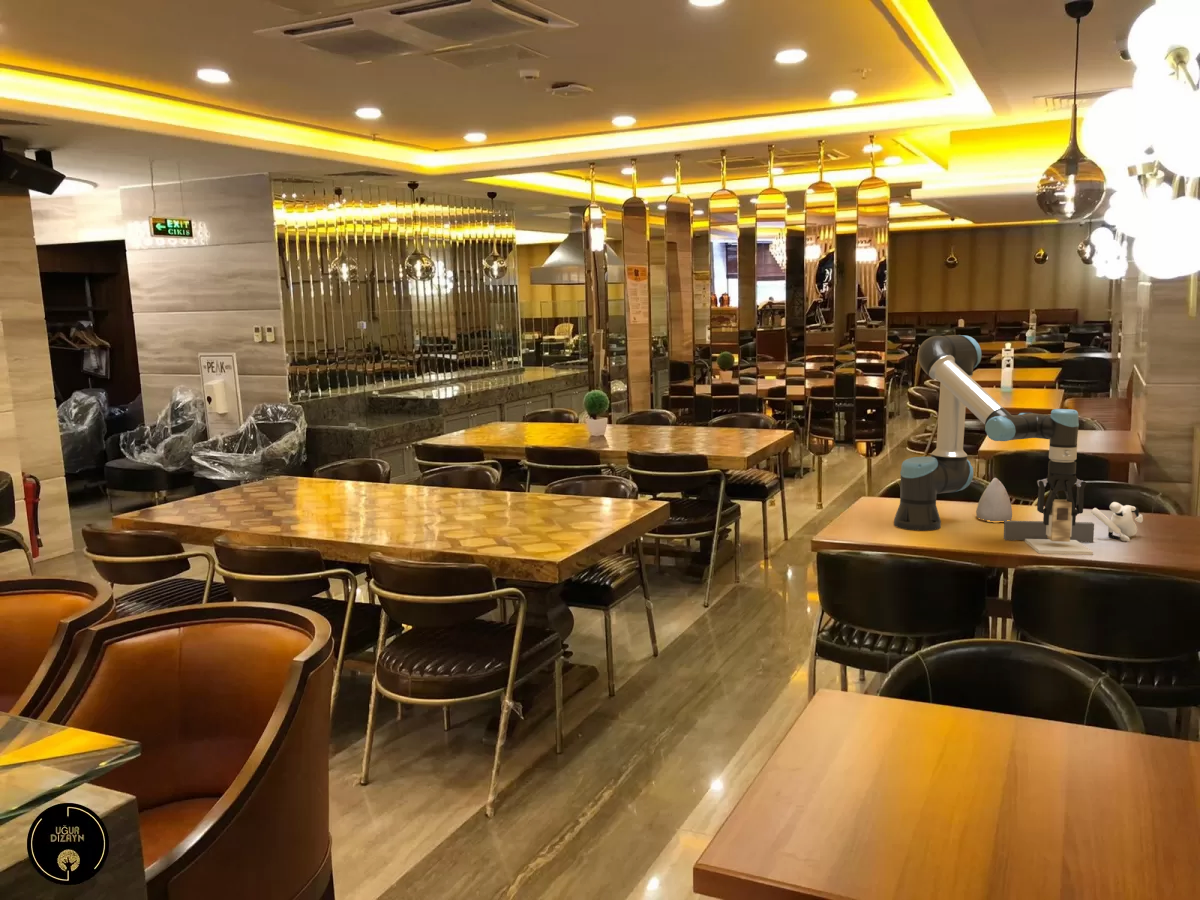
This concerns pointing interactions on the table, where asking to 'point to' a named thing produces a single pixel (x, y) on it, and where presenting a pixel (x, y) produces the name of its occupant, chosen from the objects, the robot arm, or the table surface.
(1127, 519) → the cricket player figurine
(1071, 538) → the grey plank
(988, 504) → the sculpture
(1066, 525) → the letter block
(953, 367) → the robot arm
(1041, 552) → the mat
